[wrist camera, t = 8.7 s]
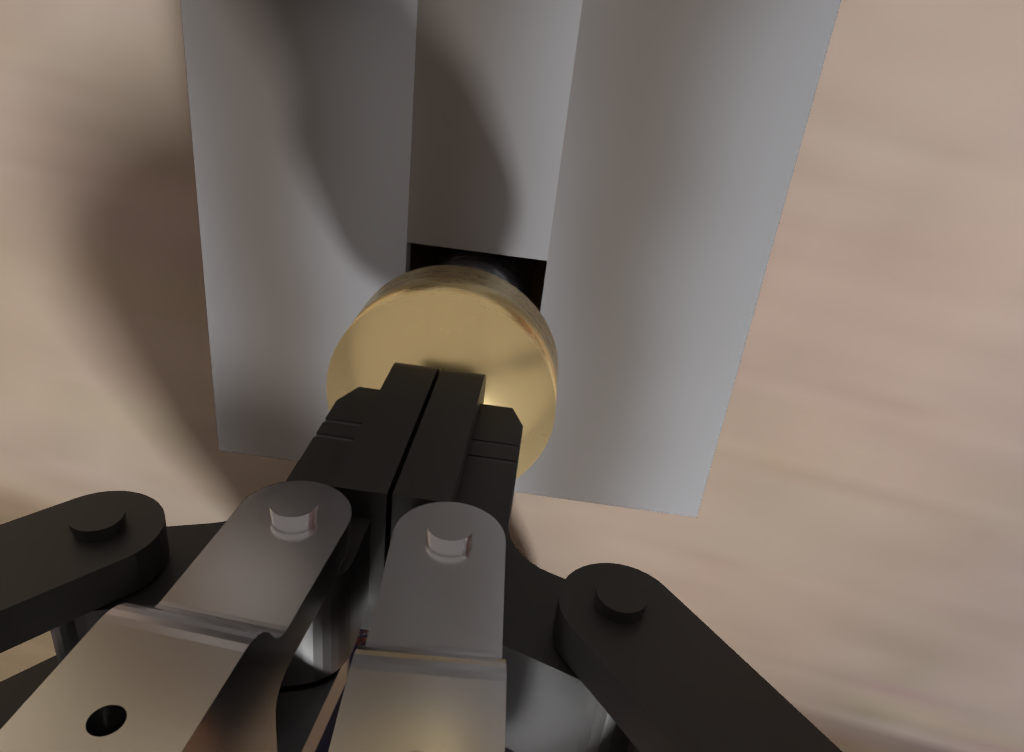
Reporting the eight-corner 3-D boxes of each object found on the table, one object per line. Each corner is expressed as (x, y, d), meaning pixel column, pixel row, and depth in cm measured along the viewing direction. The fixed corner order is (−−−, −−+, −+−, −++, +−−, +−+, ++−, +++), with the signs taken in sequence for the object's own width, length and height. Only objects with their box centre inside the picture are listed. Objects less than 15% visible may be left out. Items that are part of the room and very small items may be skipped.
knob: (575, 185, 20) (571, 312, 12) (556, 321, 22) (540, 512, 14) (429, 166, 20) (325, 278, 12) (421, 303, 22) (326, 481, 14)
